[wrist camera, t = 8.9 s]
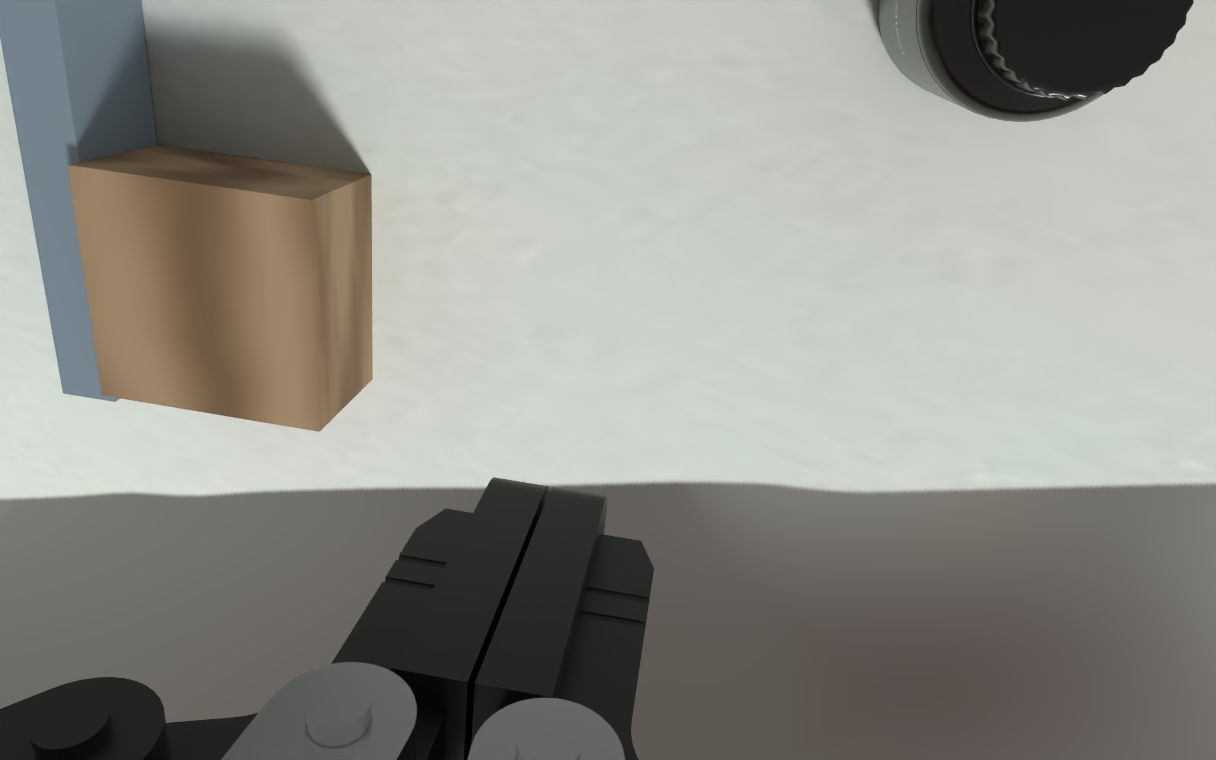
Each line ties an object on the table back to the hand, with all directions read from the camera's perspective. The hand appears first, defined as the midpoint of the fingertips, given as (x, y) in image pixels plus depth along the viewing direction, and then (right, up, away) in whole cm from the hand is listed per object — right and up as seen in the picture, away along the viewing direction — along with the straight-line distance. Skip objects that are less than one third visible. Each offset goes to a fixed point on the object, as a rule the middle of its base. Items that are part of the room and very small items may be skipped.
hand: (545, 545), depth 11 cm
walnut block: (-15, +8, +29) cm, 34 cm away
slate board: (-21, +12, +27) cm, 37 cm away
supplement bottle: (+14, +16, +21) cm, 30 cm away
